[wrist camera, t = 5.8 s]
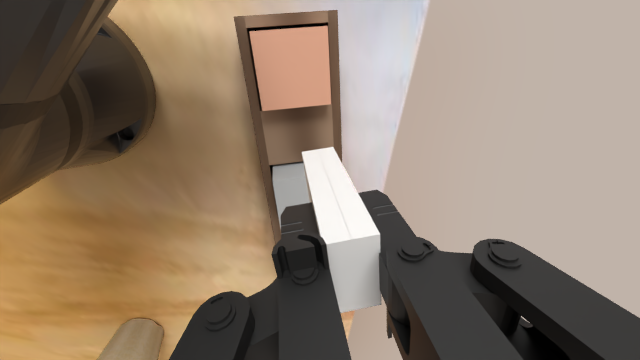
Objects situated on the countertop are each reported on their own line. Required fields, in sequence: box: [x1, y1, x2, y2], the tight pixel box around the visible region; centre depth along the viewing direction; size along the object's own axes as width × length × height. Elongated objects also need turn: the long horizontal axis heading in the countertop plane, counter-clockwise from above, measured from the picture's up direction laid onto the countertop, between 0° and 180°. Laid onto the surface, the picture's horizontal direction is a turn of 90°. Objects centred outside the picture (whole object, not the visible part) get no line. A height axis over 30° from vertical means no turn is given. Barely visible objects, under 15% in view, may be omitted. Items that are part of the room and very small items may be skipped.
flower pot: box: [97, 318, 164, 360], centre depth 38 cm, size 9×9×9 cm
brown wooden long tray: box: [234, 10, 342, 244], centre depth 31 cm, size 8×32×5 cm, turn 4°
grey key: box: [273, 161, 310, 229], centre depth 28 cm, size 6×6×5 cm
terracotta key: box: [249, 26, 331, 111], centre depth 24 cm, size 6×6×5 cm
